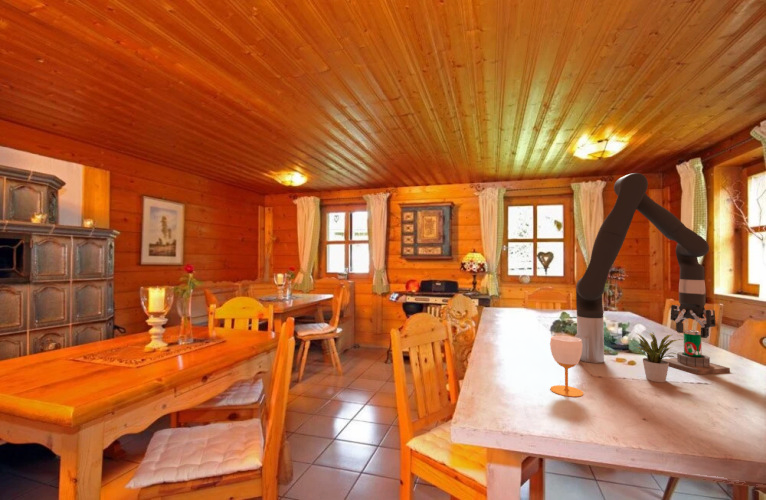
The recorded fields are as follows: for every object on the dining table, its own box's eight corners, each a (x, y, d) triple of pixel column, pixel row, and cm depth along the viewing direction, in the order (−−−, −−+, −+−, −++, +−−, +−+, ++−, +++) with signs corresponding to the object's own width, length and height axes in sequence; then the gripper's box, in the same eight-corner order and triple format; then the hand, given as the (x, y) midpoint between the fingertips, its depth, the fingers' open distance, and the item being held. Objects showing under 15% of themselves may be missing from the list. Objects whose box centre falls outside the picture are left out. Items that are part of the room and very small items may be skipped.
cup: (580, 388, 112) (579, 336, 112) (586, 398, 103) (585, 342, 103) (548, 384, 115) (548, 334, 115) (552, 394, 106) (551, 340, 106)
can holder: (698, 374, 125) (697, 361, 125) (659, 363, 138) (659, 351, 138) (729, 372, 127) (729, 359, 127) (689, 361, 141) (689, 349, 141)
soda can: (695, 361, 135) (694, 329, 135) (705, 365, 130) (704, 332, 130) (680, 361, 136) (679, 329, 136) (690, 365, 131) (689, 332, 131)
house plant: (690, 379, 119) (689, 330, 120) (687, 391, 109) (686, 337, 110) (637, 370, 129) (637, 325, 129) (631, 380, 119) (630, 330, 119)
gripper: (665, 289, 140) (665, 331, 139) (704, 293, 126) (704, 340, 126) (680, 289, 141) (680, 331, 141) (721, 293, 127) (721, 339, 127)
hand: (691, 335), depth 133 cm, fingers open, 8 cm apart
